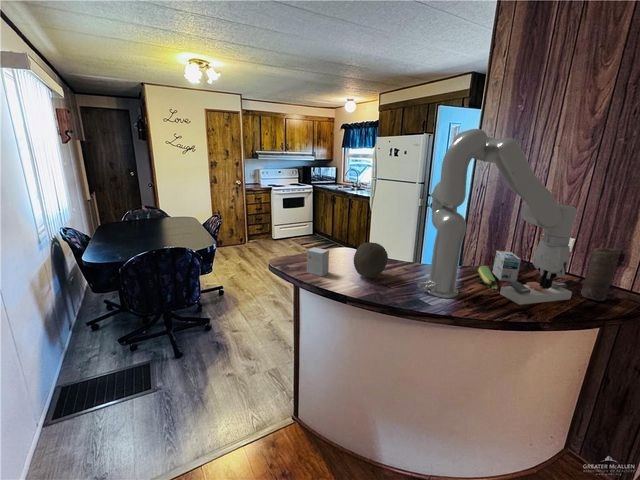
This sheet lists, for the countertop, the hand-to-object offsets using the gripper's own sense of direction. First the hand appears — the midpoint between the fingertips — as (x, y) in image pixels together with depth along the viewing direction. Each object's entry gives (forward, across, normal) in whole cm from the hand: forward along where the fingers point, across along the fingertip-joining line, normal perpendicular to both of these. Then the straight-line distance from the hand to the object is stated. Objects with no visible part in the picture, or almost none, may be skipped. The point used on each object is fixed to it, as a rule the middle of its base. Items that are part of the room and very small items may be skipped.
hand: (544, 287), depth 115 cm
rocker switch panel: (+5, -3, 0) cm, 6 cm away
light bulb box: (+5, -22, +4) cm, 23 cm away
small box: (+4, -40, -78) cm, 88 cm away
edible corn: (+5, -19, -8) cm, 22 cm away
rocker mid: (+1, -3, 0) cm, 3 cm away
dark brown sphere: (+5, -32, -57) cm, 65 cm away
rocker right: (+1, -3, +8) cm, 9 cm away
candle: (+6, +3, +21) cm, 22 cm away
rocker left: (+1, -3, -9) cm, 9 cm away
